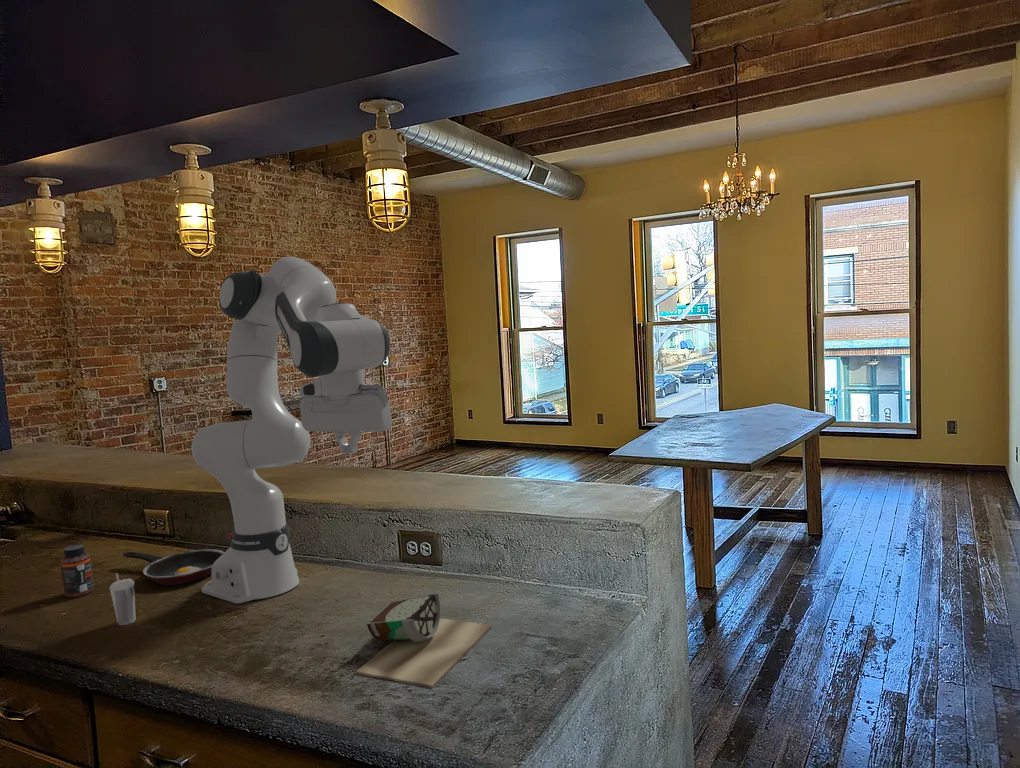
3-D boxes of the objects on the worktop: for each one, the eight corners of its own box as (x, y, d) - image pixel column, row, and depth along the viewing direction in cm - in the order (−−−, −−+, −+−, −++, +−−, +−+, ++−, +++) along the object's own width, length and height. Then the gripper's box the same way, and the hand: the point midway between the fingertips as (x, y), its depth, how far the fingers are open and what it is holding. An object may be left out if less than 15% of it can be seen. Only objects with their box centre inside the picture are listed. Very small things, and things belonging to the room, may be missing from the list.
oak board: (356, 673, 116) (356, 671, 116) (423, 617, 136) (423, 615, 136) (432, 687, 110) (432, 685, 110) (491, 627, 130) (491, 625, 130)
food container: (371, 660, 123) (420, 654, 120) (362, 627, 123) (411, 620, 120) (401, 628, 135) (447, 622, 132) (393, 599, 134) (439, 592, 131)
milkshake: (134, 614, 148) (128, 569, 147) (142, 621, 144) (136, 575, 143) (110, 622, 145) (104, 576, 144) (118, 629, 141) (111, 582, 140)
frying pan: (181, 593, 158) (179, 578, 158) (91, 579, 172) (89, 565, 172) (243, 564, 175) (242, 550, 175) (158, 553, 189) (156, 540, 189)
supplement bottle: (93, 594, 161) (86, 548, 160) (63, 600, 159) (56, 553, 158) (95, 586, 167) (89, 541, 166) (67, 592, 164) (60, 546, 163)
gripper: (395, 381, 136) (401, 450, 137) (313, 384, 144) (320, 448, 146) (376, 385, 130) (382, 457, 132) (292, 388, 139) (299, 455, 140)
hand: (349, 452), depth 139 cm, fingers closed
